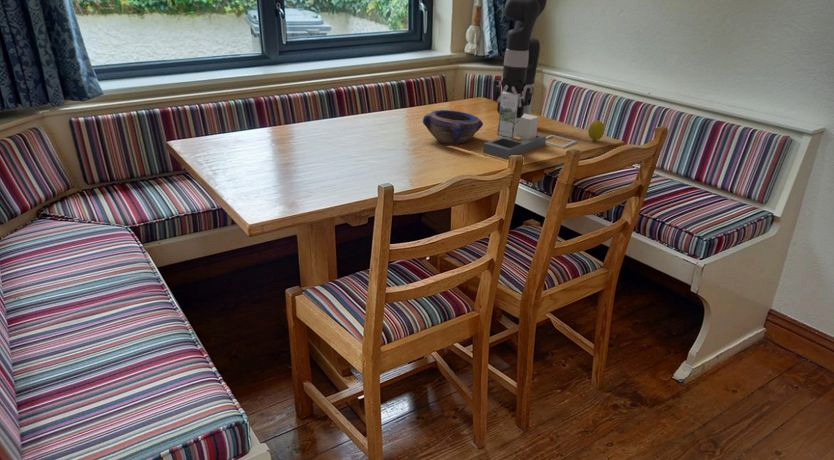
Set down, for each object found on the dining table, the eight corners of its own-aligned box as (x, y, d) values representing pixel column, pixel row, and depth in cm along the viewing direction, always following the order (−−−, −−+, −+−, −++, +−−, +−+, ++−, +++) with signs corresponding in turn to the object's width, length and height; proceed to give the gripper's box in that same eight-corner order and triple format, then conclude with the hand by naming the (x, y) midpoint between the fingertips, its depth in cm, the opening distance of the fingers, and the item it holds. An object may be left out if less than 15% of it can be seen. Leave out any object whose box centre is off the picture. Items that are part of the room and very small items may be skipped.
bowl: (487, 142, 218) (490, 115, 214) (455, 152, 206) (457, 123, 202) (449, 131, 229) (451, 104, 225) (416, 140, 217) (417, 112, 213)
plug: (513, 144, 215) (516, 116, 210) (521, 141, 219) (524, 113, 214) (526, 147, 212) (530, 119, 207) (534, 144, 216) (538, 116, 211)
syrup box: (518, 134, 206) (523, 91, 199) (513, 138, 201) (518, 94, 195) (501, 131, 208) (506, 88, 202) (496, 136, 203) (501, 92, 197)
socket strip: (482, 154, 206) (484, 140, 204) (520, 140, 223) (522, 127, 221) (507, 162, 200) (509, 148, 198) (544, 147, 217) (546, 133, 215)
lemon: (602, 144, 224) (606, 122, 220) (587, 142, 225) (590, 121, 221) (601, 139, 229) (605, 118, 225) (586, 138, 230) (590, 117, 226)
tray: (537, 144, 220) (537, 140, 219) (551, 138, 227) (551, 134, 226) (562, 150, 214) (563, 146, 213) (576, 145, 221) (576, 141, 220)
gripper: (490, 61, 196) (485, 113, 203) (529, 69, 188) (522, 122, 195) (503, 59, 201) (497, 109, 208) (541, 66, 193) (534, 118, 200)
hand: (509, 115), depth 201 cm, fingers closed on syrup box, 6 cm apart
